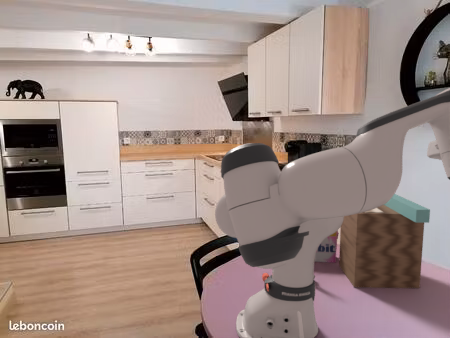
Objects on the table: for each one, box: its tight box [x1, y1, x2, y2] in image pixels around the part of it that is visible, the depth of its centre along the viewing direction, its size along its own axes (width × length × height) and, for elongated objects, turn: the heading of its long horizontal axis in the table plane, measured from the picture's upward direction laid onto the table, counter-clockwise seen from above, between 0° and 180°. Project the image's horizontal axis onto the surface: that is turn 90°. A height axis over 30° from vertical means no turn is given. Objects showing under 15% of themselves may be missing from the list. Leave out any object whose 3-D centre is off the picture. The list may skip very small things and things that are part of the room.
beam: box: [384, 193, 431, 224], centre depth 116 cm, size 4×26×4 cm, turn 177°
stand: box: [338, 205, 425, 289], centre depth 124 cm, size 22×18×26 cm
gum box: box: [315, 229, 339, 264], centre depth 143 cm, size 24×8×14 cm, turn 79°
